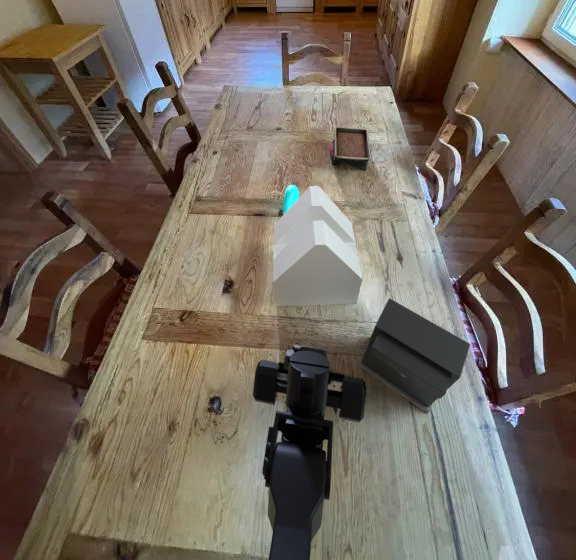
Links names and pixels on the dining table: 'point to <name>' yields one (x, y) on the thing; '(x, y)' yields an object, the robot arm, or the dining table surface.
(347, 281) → the white house shaped block
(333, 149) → the square planter box
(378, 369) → the coffee maker
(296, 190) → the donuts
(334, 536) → the dining table surface
